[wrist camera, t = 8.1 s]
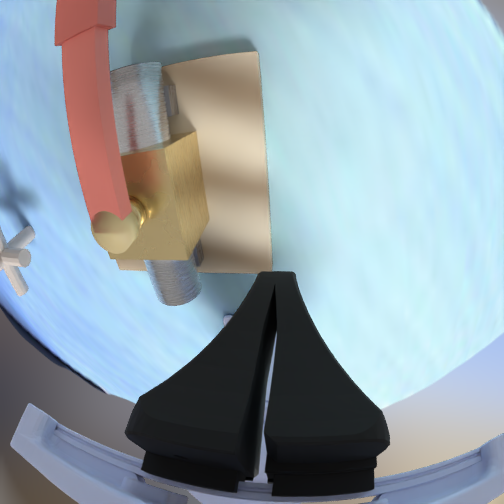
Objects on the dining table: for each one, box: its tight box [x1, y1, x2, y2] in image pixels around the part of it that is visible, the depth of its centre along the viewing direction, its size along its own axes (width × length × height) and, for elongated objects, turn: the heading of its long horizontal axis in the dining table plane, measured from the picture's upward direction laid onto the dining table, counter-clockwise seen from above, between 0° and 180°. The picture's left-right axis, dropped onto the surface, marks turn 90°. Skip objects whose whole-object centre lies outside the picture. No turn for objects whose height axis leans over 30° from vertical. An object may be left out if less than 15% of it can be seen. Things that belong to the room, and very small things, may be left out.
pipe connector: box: [0, 226, 35, 296], centre depth 20 cm, size 10×10×10 cm
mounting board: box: [116, 51, 273, 274], centre depth 18 cm, size 16×14×1 cm
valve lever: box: [55, 0, 139, 254], centre depth 9 cm, size 15×3×1 cm, turn 2°
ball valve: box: [108, 62, 210, 306], centre depth 16 cm, size 16×6×7 cm, turn 4°
